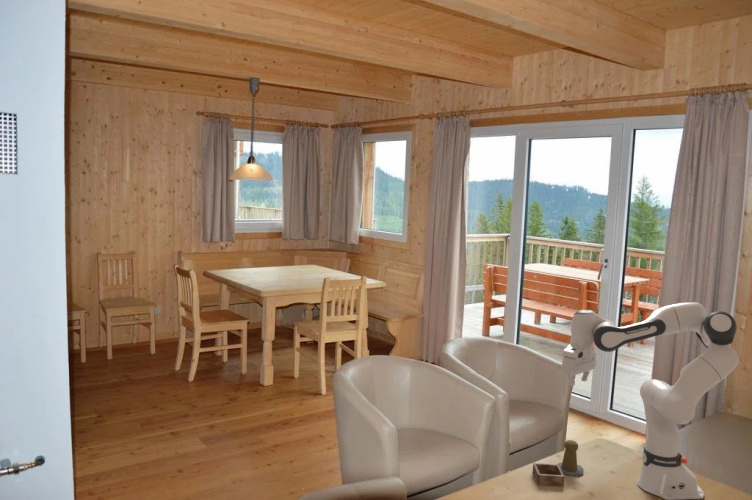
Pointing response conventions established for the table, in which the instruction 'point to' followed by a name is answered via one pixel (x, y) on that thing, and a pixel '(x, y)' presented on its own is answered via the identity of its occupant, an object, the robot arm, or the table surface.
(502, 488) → the table surface
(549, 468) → the walnut holder
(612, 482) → the table surface
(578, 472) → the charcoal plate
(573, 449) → the cork
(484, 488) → the table surface
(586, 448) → the table surface
